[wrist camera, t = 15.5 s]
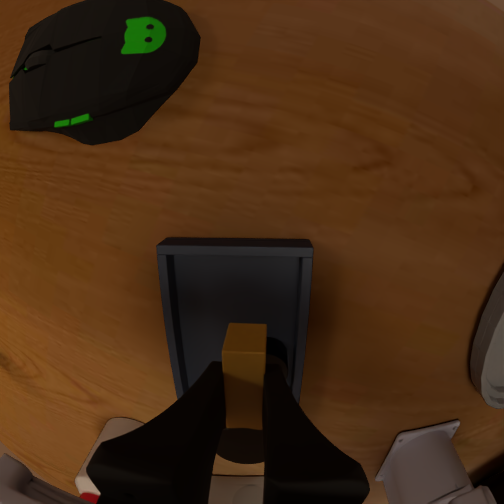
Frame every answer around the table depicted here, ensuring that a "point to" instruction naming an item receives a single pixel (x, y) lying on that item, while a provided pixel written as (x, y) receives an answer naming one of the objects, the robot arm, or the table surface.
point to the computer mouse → (101, 68)
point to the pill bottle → (109, 431)
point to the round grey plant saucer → (490, 350)
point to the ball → (495, 486)
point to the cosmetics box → (236, 490)
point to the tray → (233, 298)
